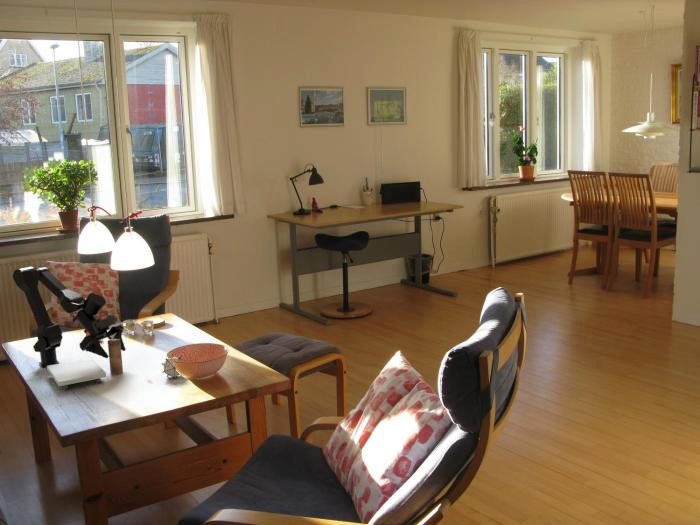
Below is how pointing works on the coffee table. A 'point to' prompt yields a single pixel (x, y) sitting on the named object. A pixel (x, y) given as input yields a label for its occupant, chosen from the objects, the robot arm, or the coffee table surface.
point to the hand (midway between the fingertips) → (116, 353)
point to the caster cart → (76, 372)
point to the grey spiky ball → (171, 367)
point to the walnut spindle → (115, 356)
